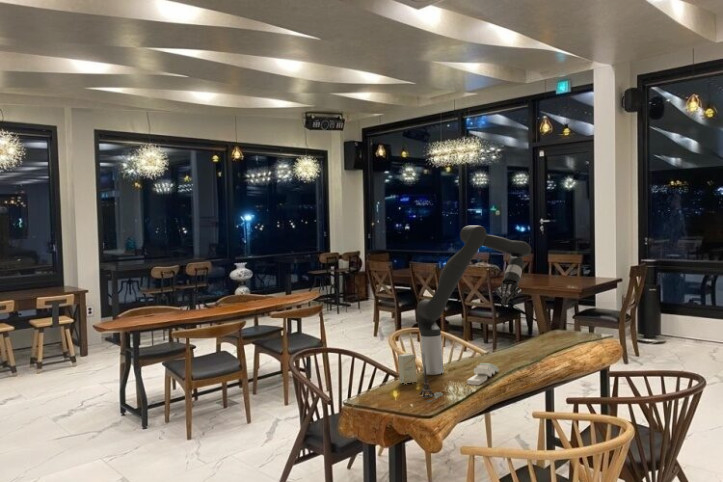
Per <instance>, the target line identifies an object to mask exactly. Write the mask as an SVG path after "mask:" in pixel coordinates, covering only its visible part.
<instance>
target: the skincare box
mask: <svg viewBox="0 0 723 482" xmlns="http://www.w3.org/2000/svg"><path fill="white" fill-rule="evenodd" d="M397 357H398V358H397V359H398V374H399V383H400V382H401V383H400V384H402V383H404V384H403V385H405V384H406V385H408V384H407V383H411V382H416V383H417V382H418V381H417V379H418V378H417V367H416V365H417V364H416V354H415V353H411V352H410V353H404V354H403V353H402V354H398V355H397Z"/></svg>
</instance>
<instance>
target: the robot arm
mask: <svg viewBox="0 0 723 482" xmlns="http://www.w3.org/2000/svg"><path fill="white" fill-rule="evenodd" d="M459 237H460V240H461V241H462V242H463V243H464V245H463V246H462V248H461V249H460V250H458V251H457V252H456V253H455V254H454V255H453V256H452V257H450V258H448V261H446V263H445V265H444V266H443V268H442V269H441V272H440V275H439V278H438V285H437V288H436V290H435V292H434V294H433V295H432V297H431V298H430V299H422V300H420V301H419V302H418V304H417V306H416V317H417V318H416V320H417V328H418V330H419V332H420V333H419V334H420V344H421V347H420V348H421V359H422V360H421V361H422V372H423V373H422V374H423V375H425V369H424V366H426V374H427V376H428V375H429V376H434V375H441V373H442V374H444V372H445V371H444V361H443V360H444V357H443V346H442V345H443V343H442V333H441V332H442V331H441V328H440V327H439V326H438V324H437V320H438V319H440V318H441V316H442V314H443V313H444V310H445V309H446V305H447V303H448V301H449V300H450V297H451V295H452V294H453V292H454V291H455V289H456V287H457V285H458V283H459V282H460V280H461V279H462V277H463V276H464V274H465V271H466V269H467V267H468V266H469V264H470V263H471V262H472V259H473V258H474V257H475V255H476V254H477V252H478V251H479V249H480V248H481V247H484V248H489V249H491V250H493V251H497V252H500V253H503V254H506V255H509V256H508V259H509V261H508V265H507V268H506V269H505V272H504V276H503V280H502V282H501V284H500V286H499V287H495V288H494V289H495V291H496V293H497V294H498V296H499V298H500V299H501V300H500V303H501V305H502V306H503V307H504V306H505V307H507V305H508V304H509V302H510V299H511V300H512V299H514V298H516V297H517V296H518V295H519V294H521V293H522V289H521V288H520V287H519V284H520V281H521V278H522V272H523V268H524V266H525V261H524V259H523V258H525V257H527V256H529V255H531V253H532V247H531V245H530V244H529V243H527V242H526V241H523V240H522V241H521V240H511V239H508V238H506V237H502V236H497V235H493V234H488V233H487V230H486V228H485V227H484V226H481V225H466V226H464V227H463V228H462V229H461V231H460V233H459Z"/></svg>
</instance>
